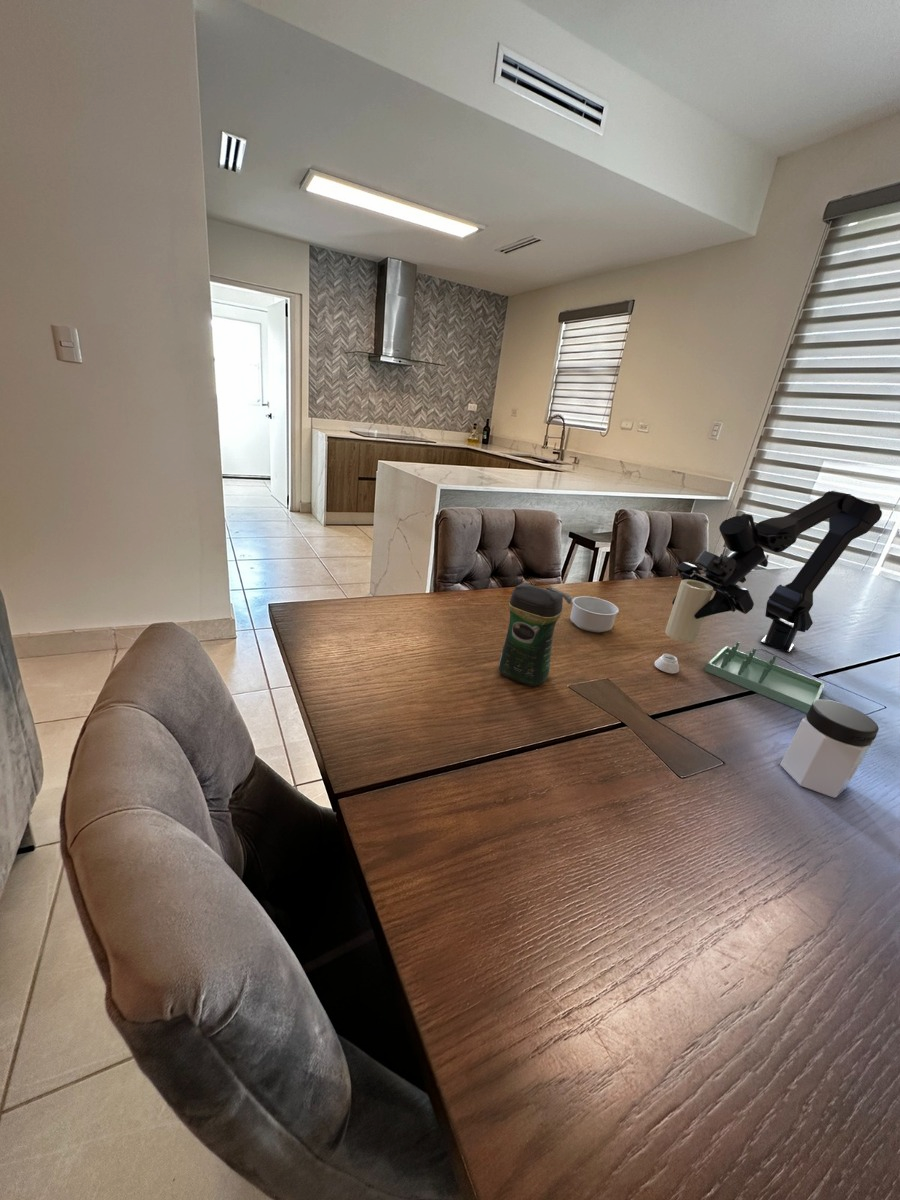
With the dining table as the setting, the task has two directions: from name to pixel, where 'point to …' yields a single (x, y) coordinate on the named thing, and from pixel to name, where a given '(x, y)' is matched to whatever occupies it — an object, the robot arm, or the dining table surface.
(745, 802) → the dining table surface
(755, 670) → the dish rack
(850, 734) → the jar
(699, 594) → the beige cylindrical vase
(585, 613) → the saucepan
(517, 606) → the coffee jar
